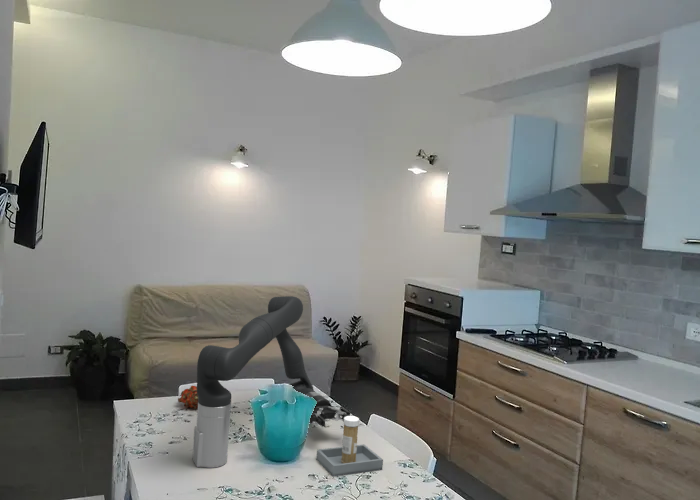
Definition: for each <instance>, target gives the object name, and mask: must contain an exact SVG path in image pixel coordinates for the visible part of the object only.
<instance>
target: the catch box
mask: <svg viewBox="0 0 700 500" xmlns="http://www.w3.org/2000/svg"><path fill="white" fill-rule="evenodd" d="M315 457H316V458H315V459H316V461H317V462H318V463H319V464H320V466H322V467H323V468H324V469H325V471H327V472H328V473H329V474H330V475H331V477H340V476H346V475H353V474H354V473H355V474H360V473H366V472H367V473H368V472H374V471H375V472H376V471H381V470H382V471H383V468H384V467H383V466H384V459H383V458H382V457H381V456H379V455H378V454H377V453H376V452H374V450H372V449H371V448H369V447H368V446H367V445H366V444H357V451H356V462H351V463H342V462H341V459H342V446H339V447H338V446H337V447H330V448H329V447H328V448H320V449H317V450H316V456H315Z"/></svg>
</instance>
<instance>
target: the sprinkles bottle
mask: <svg viewBox="0 0 700 500" xmlns="http://www.w3.org/2000/svg"><path fill="white" fill-rule="evenodd" d="M359 424H360V418H359V417H357V416H355V415H350V416H346V417H344V422H343V434H342V444H341V447H342V459H341V462H342V463H351V462H356V451H357V445H358V434H359V431H358V429H359Z"/></svg>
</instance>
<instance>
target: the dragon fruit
mask: <svg viewBox="0 0 700 500" xmlns="http://www.w3.org/2000/svg"><path fill="white" fill-rule="evenodd" d="M177 402H178V403H183V406H184V408H185V409H189V408H191V409H193V410H198V395H197V385H190V386H189V388H184V390H182V391H181V393H180V395H179V397H177Z"/></svg>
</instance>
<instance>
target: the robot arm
mask: <svg viewBox="0 0 700 500" xmlns="http://www.w3.org/2000/svg"><path fill="white" fill-rule="evenodd" d="M303 310H304V304H303V302H302V300H301V299H300V298H299V297H296V296H293V295H292V296H291V295H290V296H287V295H286V296H284V295H283V296H273V297H271V298H270V300H269V302H268V306H267V313H264V314H261V315H258V316H255V317H254V318H252V319H250V320H249V322H247V323H246V324H245V325H243V327H241V329H240V331H239V333H238V344H236V345H235V346H233V347H223V346H218V345H213V344H212V345H211V344H208V345H206V346H204V347H203V348H202V349H201V350H200V352H199V354H198V357H197V363H196V364H197V366H196V386H197V395H198V408H197V415H196V426H194V429H193V447H192V460H193V463H194V464H195V467H197V468H199V467H200V468H213V469H214V468H217V467H218V468H219V467H222V466H224V465H226V463H227V462H228V454H229V453H228V452H229V451H228V450H229V440H230V439H229V436H230V426H231V425H230V423H231V422H230V421H231V408H232V393H231V391H230V390H228V389H227V388H226V387H224V386H223V385H222V384H221V383H220V381H222V382H228V381H231V380H233V379H234V378H235V377H236V376H238V374H239V373H241V371H242V370H243V368H244V367H245V366H246V365H247V364H248V362H249V361H251V359H252V358H254V357H255V356H256V355H257V354H258V353H259V352H260V351H261V350H262V349H264V348H265V347H266V346H267V345H268V344H270V343H271V342H272V341H273V340H274V339H275V338H276V341H277V343H278V346H279V348H280V352H281V357H282V363H283V367H284V373H285V376H286V378H288V379H290V380H296V379H297V380H298V381H295V382H293V383H289V384H288V385H292V386H294V389H295V390H296V391H298V392H301V393H303V394H305V395H307V396H309V397H313V398H314V399H315V400H316V401H317V404H316V406H315V408H314V411H313V413H312V415H311V418H310V422H308V423H309V424H313V423H315V424H317V425H319V426H321V427H322V428H324V427H326V420H329V421H330V420H332V421H336V422H337V421H342V422H343V423H344V417H346V416H351V411H350V410H348V409H347V408H346V407H344V406H339V408H336V407H333V406H332V404H331V402H330V401H329V400H328V399H327V398H325V396H323V395H321V394H320V393H318V392H317V391H315V390H314V386H313V384H312V382H311V381H310V379H309V377H308V375H307V372H306V368H305V363H304V358H303V354H302V351H301V348H300V347H299V346H298V344H297V343H296V342H295V340H294V339H293V337H292V336H291V335H290V333H289V332H288V330H287V329H288V328H289V327H290V326H291V327H292V326H293V325H294V324H296V323H297V322H298V321H299V320H300V319H301V317H302V315H303Z"/></svg>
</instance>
